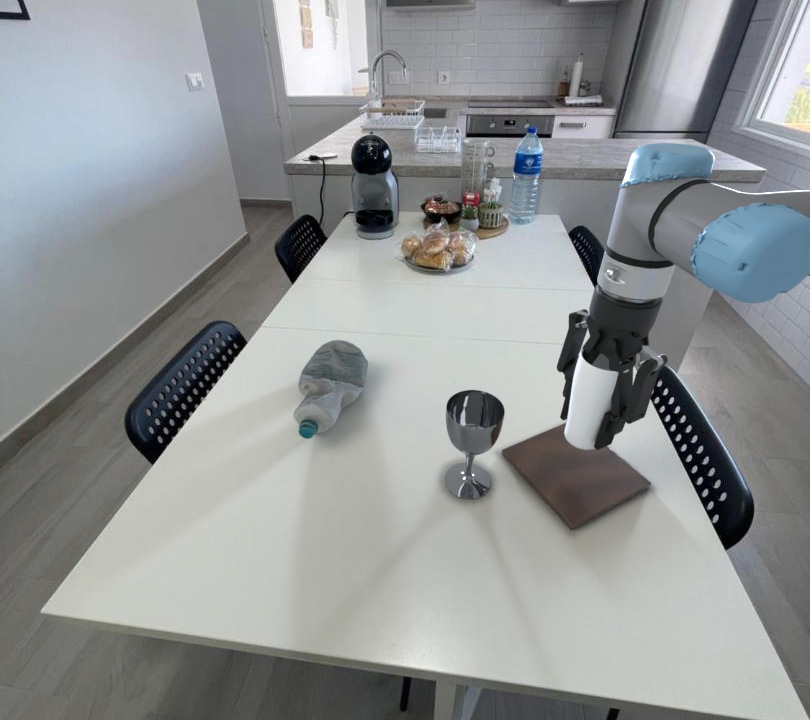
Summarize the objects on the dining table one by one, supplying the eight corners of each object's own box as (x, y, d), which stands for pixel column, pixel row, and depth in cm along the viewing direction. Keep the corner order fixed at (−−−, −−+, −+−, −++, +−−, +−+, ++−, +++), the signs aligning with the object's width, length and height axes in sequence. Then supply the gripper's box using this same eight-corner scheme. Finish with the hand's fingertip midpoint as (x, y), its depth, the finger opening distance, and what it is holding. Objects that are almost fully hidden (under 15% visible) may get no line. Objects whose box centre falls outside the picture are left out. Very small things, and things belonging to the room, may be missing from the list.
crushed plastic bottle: (316, 359, 96) (266, 441, 76) (315, 331, 92) (262, 410, 72) (376, 370, 95) (341, 456, 75) (377, 341, 91) (341, 424, 70)
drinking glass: (580, 461, 64) (605, 378, 55) (549, 431, 69) (568, 350, 60) (616, 446, 66) (646, 364, 57) (583, 418, 71) (606, 338, 62)
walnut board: (649, 487, 68) (651, 483, 68) (571, 530, 62) (572, 525, 62) (573, 422, 80) (574, 418, 79) (501, 453, 74) (501, 449, 74)
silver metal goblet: (503, 479, 70) (516, 407, 61) (472, 511, 65) (482, 438, 56) (462, 453, 74) (469, 382, 66) (431, 481, 70) (434, 409, 61)
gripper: (548, 266, 58) (523, 400, 72) (681, 336, 44) (618, 486, 58) (591, 255, 61) (558, 386, 74) (728, 318, 47) (657, 465, 61)
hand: (584, 430), depth 66 cm, fingers closed on drinking glass, 6 cm apart
